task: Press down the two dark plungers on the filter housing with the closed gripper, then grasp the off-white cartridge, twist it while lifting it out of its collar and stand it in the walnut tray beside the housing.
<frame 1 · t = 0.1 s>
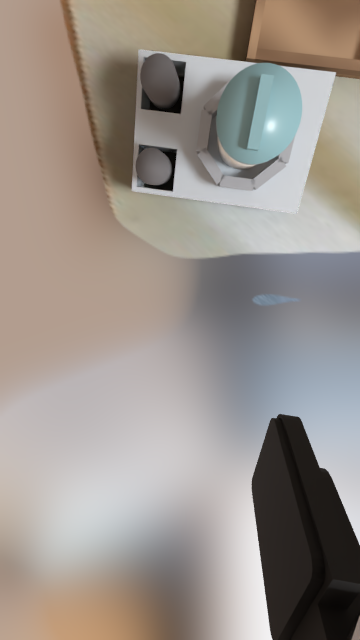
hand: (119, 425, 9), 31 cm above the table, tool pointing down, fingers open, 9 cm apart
cartridge: (243, 140, 29), point 4 cm above the table, touching housing
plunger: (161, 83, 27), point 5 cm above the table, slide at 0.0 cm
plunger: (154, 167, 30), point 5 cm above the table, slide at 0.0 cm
housing: (213, 142, 32), on the table
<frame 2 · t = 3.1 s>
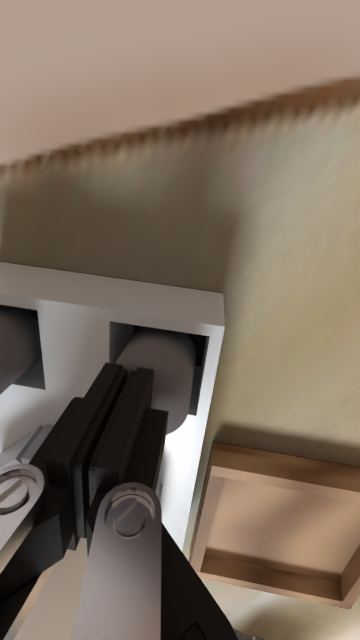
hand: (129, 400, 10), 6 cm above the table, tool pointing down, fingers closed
cartridge: (81, 489, 16), point 4 cm above the table, touching housing
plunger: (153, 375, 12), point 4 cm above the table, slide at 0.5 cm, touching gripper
tray: (283, 517, 21), on the table
housing: (107, 399, 18), on the table
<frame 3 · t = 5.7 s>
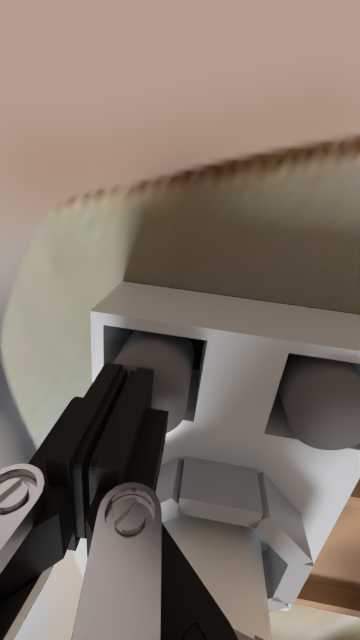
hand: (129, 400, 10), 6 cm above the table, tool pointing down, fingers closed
cartridge: (206, 521, 15), point 4 cm above the table, touching housing
housing: (216, 422, 17), on the table
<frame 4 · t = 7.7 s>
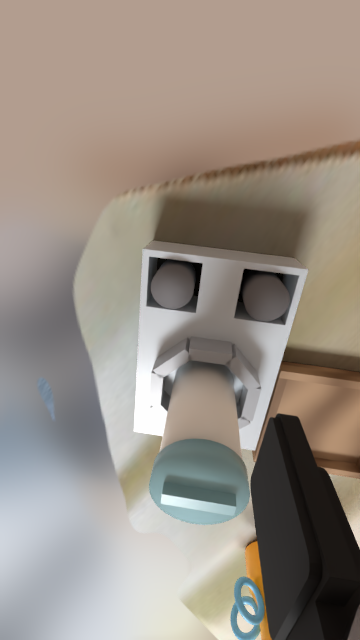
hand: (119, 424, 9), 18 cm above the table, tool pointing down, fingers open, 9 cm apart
cartridge: (203, 382, 25), point 4 cm above the table, touching housing
cylinder: (266, 549, 41), on the table
tray: (320, 416, 30), on the table
housing: (208, 332, 28), on the table
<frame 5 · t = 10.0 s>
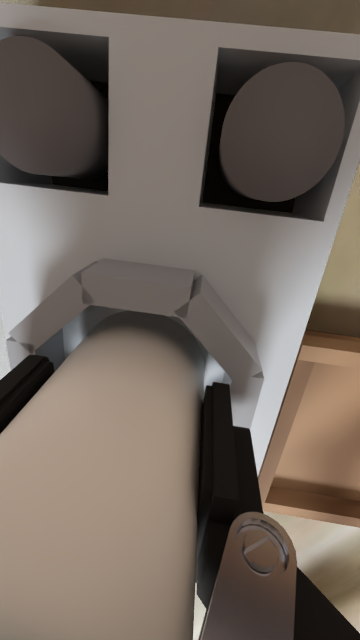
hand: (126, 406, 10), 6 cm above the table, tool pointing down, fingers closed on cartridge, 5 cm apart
cartridge: (142, 367, 12), point 4 cm above the table, touching gripper, housing
housing: (163, 273, 15), on the table
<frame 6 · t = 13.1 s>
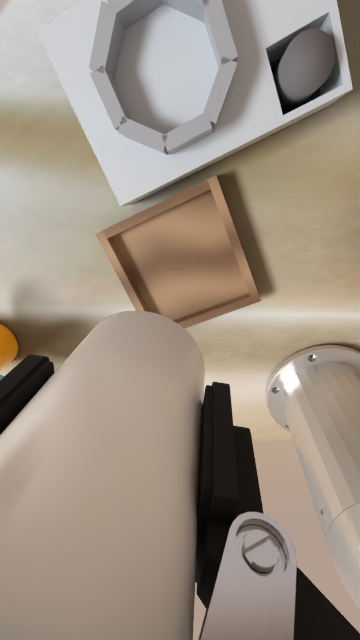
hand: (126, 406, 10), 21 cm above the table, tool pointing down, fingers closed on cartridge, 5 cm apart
cartridge: (142, 367, 12), point 19 cm above the table, touching gripper
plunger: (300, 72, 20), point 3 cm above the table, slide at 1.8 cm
tray: (181, 263, 29), on the table
housing: (207, 74, 23), on the table
when the fingers open (4 cm above the table, at t = 16.6 s): cartridge drops 1 cm, resting on tray.
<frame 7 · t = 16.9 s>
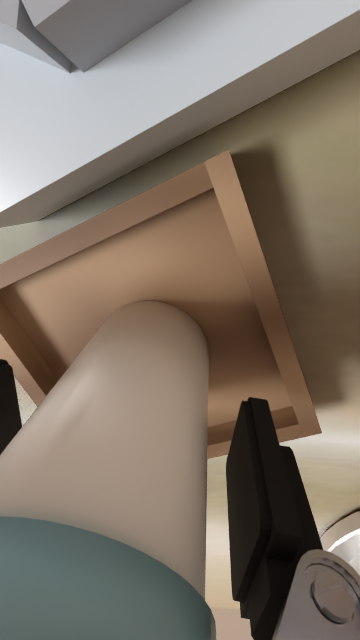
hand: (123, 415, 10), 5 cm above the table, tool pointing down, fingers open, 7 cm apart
cartridge: (152, 353, 13), point 1 cm above the table, touching tray
tray: (151, 344, 14), on the table
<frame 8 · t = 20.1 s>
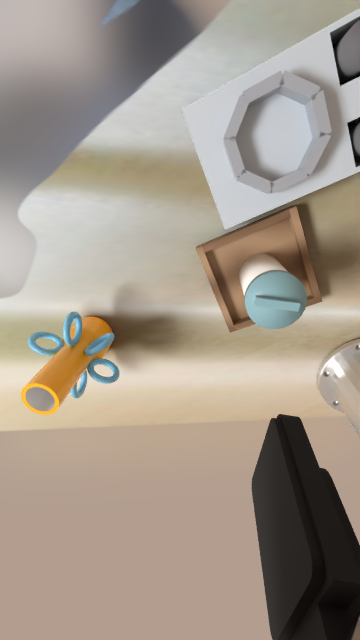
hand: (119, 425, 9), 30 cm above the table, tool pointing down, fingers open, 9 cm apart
cartridge: (259, 273, 36), point 1 cm above the table, touching tray
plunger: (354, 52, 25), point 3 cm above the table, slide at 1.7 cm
cylinder: (95, 333, 43), on the table
tray: (257, 271, 37), on the table
housing: (293, 132, 31), on the table
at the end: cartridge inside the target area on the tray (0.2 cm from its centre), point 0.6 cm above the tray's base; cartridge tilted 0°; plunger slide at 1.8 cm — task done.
